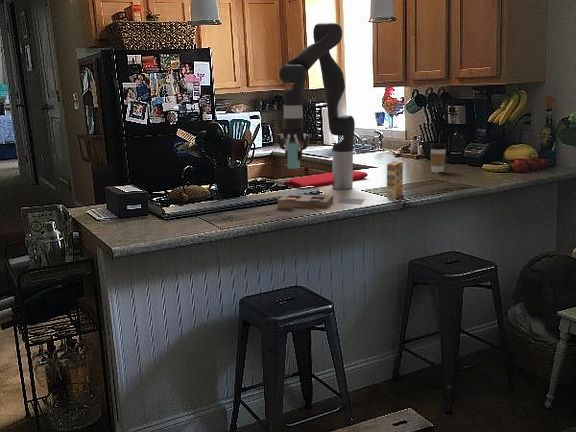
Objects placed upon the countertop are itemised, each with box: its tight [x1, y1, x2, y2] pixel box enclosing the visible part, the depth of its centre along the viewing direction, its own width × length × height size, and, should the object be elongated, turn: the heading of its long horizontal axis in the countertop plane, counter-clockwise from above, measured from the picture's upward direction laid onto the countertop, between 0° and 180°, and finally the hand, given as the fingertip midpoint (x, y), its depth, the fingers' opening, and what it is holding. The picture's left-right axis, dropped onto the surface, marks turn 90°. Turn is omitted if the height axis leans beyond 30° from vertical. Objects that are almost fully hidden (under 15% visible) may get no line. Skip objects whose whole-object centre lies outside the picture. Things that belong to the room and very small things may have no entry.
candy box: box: [386, 161, 404, 199], centre depth 269 cm, size 9×4×15 cm, turn 150°
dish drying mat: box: [283, 169, 369, 188], centre depth 310 cm, size 16×41×4 cm, turn 126°
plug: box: [286, 141, 301, 170], centre depth 254 cm, size 4×4×11 cm
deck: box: [336, 197, 366, 205], centre depth 262 cm, size 10×10×1 cm
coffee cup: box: [430, 142, 448, 174], centre depth 331 cm, size 8×8×15 cm
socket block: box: [277, 193, 334, 210], centre depth 258 cm, size 12×20×4 cm, turn 74°
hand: (293, 159), depth 255 cm, fingers closed on plug, 4 cm apart
